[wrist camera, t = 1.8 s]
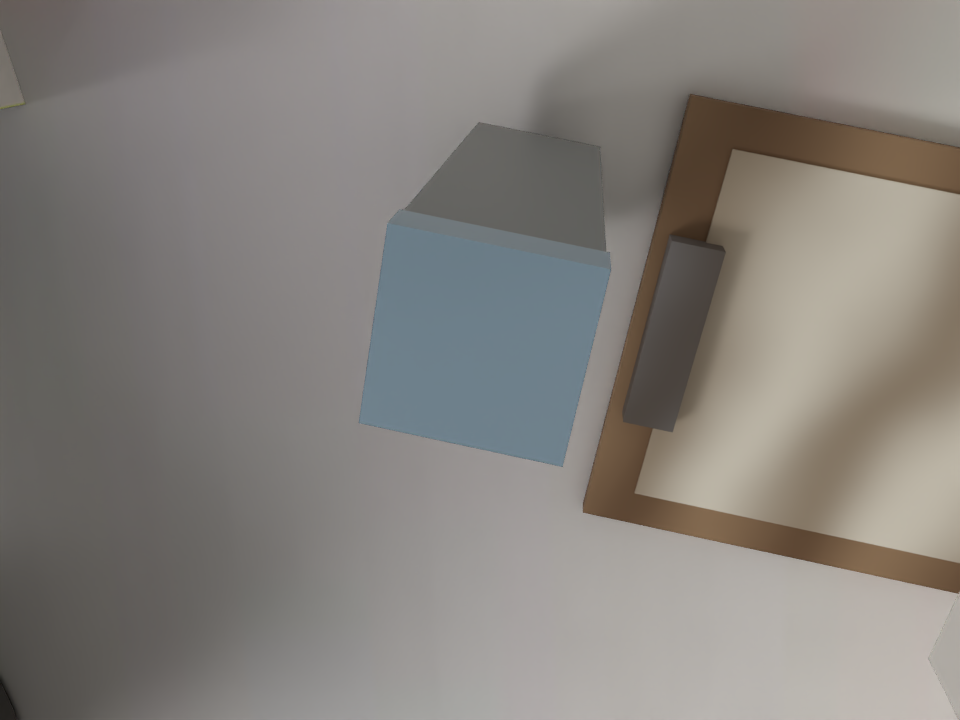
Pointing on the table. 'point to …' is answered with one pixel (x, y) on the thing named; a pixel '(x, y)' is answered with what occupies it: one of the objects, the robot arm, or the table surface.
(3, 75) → the puzzle toy
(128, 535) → the table surface
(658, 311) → the clipboard
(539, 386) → the blue-grey tall block
